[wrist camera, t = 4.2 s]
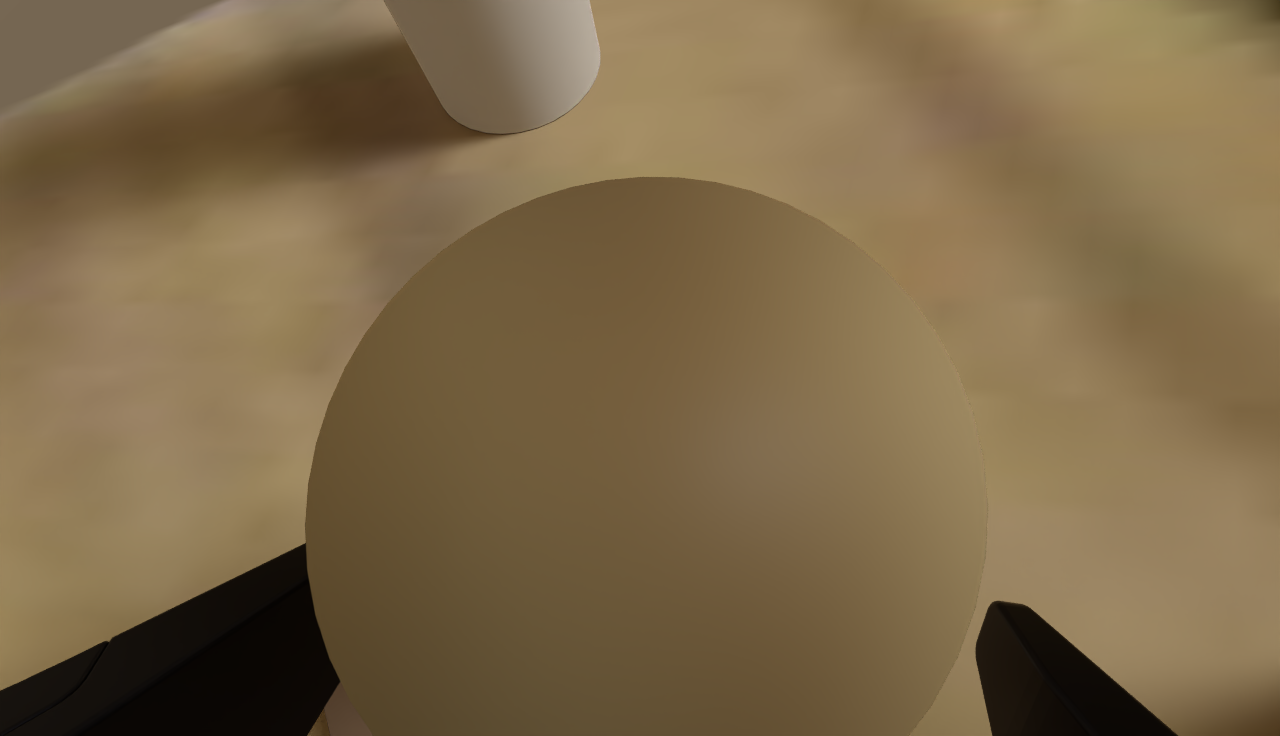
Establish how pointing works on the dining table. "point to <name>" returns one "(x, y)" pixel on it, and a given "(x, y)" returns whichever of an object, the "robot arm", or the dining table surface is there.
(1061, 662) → the robot arm
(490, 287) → the beige round-topped column
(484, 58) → the cylindrical container
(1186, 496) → the dining table surface
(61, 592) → the dining table surface
